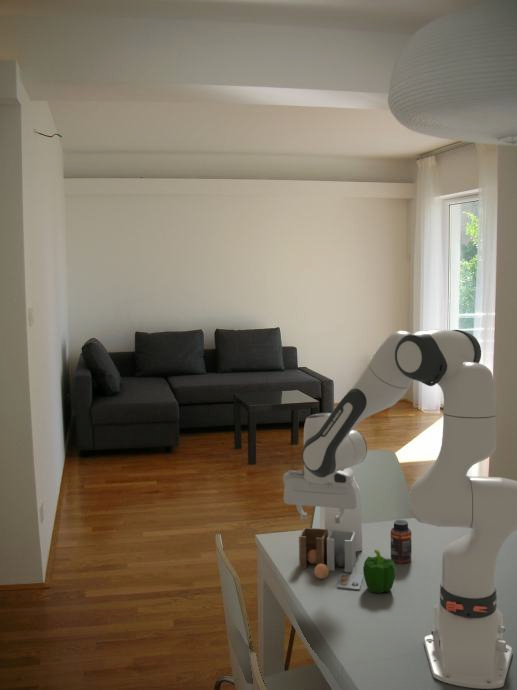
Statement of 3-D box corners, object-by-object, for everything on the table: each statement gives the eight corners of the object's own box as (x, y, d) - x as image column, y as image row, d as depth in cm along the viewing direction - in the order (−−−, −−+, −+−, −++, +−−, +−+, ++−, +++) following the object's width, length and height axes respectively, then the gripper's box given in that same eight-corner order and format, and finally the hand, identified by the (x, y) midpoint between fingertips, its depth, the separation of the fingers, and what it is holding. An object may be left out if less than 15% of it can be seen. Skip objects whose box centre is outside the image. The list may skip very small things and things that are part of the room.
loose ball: (327, 582, 190) (327, 567, 190) (313, 580, 192) (312, 566, 191) (330, 575, 194) (330, 561, 194) (315, 574, 195) (315, 560, 195)
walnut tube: (323, 569, 198) (323, 538, 197) (299, 567, 200) (298, 536, 199) (328, 559, 205) (327, 529, 204) (304, 557, 207) (304, 527, 206)
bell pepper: (394, 598, 181) (394, 560, 179) (362, 595, 183) (361, 558, 181) (396, 583, 189) (396, 547, 188) (365, 580, 191) (365, 545, 190)
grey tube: (352, 572, 196) (351, 541, 195) (327, 569, 198) (326, 539, 197) (355, 562, 203) (355, 531, 202) (331, 559, 205) (331, 529, 204)
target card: (359, 590, 185) (359, 588, 185) (336, 588, 187) (336, 586, 187) (363, 577, 193) (363, 575, 193) (341, 575, 194) (341, 573, 194)
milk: (319, 536, 222) (318, 456, 219) (355, 535, 223) (355, 455, 220) (324, 552, 210) (323, 467, 207) (362, 550, 211) (362, 466, 208)
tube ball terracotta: (319, 566, 200) (319, 553, 200) (305, 565, 201) (305, 551, 201) (322, 561, 204) (321, 547, 204) (308, 559, 205) (308, 546, 205)
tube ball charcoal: (347, 569, 198) (347, 555, 197) (333, 568, 199) (333, 554, 199) (349, 563, 202) (349, 550, 201) (335, 562, 203) (335, 549, 202)
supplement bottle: (415, 559, 204) (415, 521, 202) (404, 566, 199) (404, 527, 198) (397, 553, 208) (397, 516, 207) (386, 560, 204) (386, 522, 202)
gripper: (280, 472, 189) (281, 522, 191) (356, 477, 184) (356, 528, 185) (285, 466, 195) (286, 514, 197) (359, 470, 190) (359, 520, 191)
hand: (321, 521), depth 191 cm, fingers open, 8 cm apart
